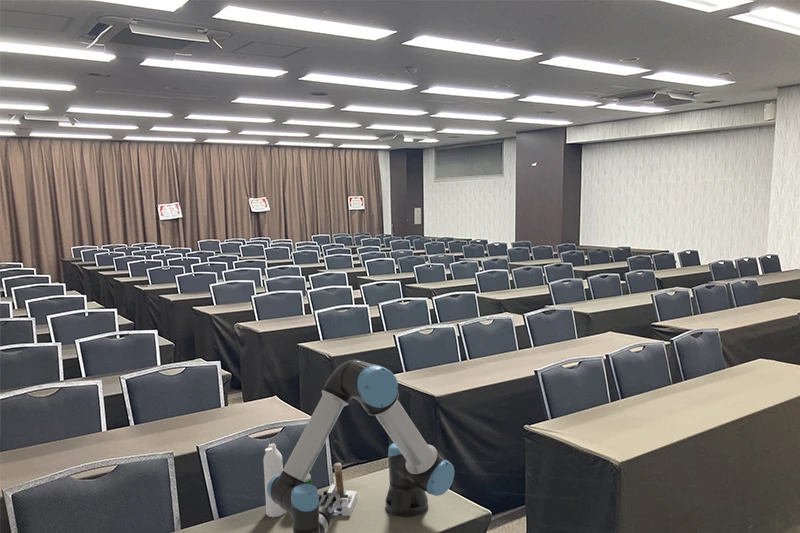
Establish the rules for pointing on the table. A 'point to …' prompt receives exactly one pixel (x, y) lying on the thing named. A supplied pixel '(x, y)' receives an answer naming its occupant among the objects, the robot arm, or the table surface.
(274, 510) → the water bottle
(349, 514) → the switch box
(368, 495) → the table surface
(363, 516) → the table surface
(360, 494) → the table surface
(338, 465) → the lever
